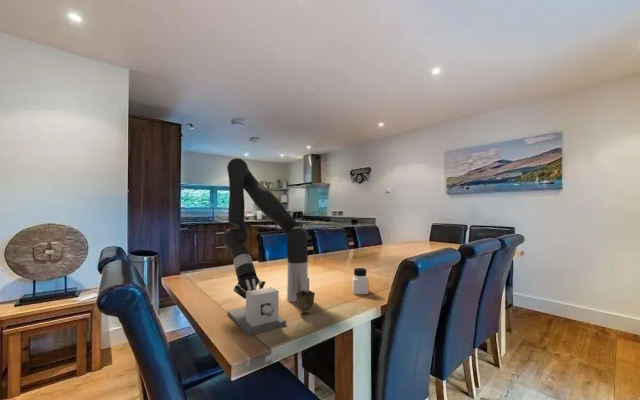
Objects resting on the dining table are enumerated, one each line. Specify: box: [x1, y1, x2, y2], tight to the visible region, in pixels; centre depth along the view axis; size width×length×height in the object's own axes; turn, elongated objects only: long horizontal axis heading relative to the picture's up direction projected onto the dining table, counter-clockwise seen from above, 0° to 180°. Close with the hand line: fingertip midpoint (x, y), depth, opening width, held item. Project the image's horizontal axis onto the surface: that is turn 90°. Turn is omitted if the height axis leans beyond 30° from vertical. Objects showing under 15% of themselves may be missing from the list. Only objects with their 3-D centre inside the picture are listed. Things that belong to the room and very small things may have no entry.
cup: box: [296, 290, 316, 315], centre depth 112 cm, size 8×7×8 cm
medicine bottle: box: [351, 267, 369, 295], centre depth 139 cm, size 7×7×12 cm
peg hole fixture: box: [227, 286, 287, 336], centre depth 105 cm, size 14×22×12 cm, turn 36°
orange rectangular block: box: [261, 304, 274, 316], centre depth 99 cm, size 6×11×9 cm, turn 36°
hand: (255, 306), depth 104 cm, fingers closed
